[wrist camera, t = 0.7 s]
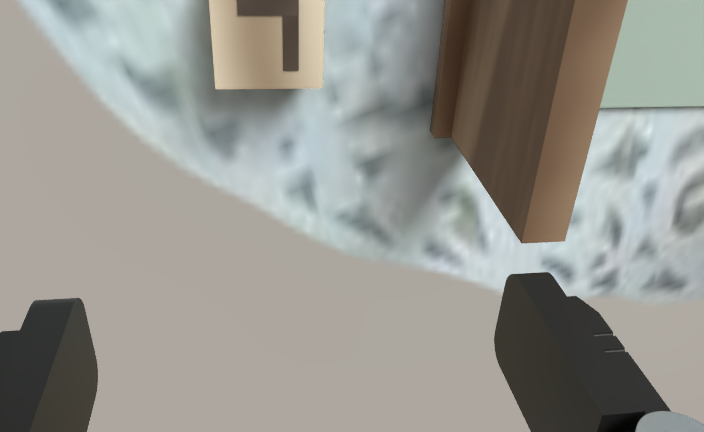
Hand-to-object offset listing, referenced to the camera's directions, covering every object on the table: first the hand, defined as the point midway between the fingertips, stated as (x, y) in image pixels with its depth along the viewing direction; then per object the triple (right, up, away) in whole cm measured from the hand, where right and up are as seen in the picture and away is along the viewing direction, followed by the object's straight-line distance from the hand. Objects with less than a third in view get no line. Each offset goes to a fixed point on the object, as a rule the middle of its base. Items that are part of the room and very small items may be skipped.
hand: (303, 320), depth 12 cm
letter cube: (-4, +13, +20) cm, 24 cm away
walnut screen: (+8, +13, +22) cm, 27 cm away
